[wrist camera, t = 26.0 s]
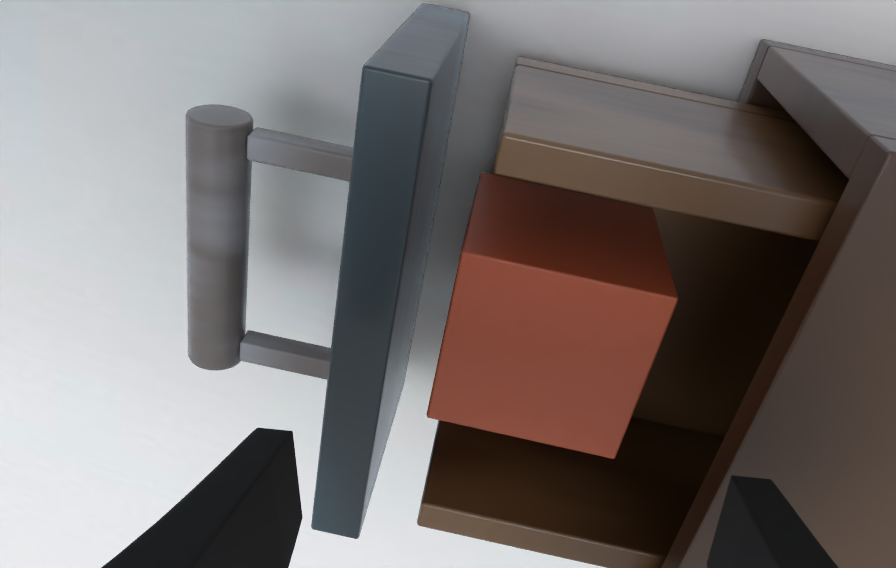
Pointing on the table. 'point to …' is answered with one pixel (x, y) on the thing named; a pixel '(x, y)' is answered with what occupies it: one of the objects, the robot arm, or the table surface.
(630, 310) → the block
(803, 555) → the robot arm
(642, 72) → the table surface
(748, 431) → the cabinet
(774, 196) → the drawer
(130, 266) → the table surface
